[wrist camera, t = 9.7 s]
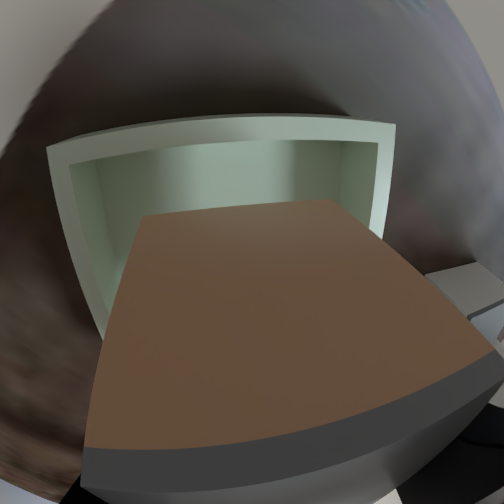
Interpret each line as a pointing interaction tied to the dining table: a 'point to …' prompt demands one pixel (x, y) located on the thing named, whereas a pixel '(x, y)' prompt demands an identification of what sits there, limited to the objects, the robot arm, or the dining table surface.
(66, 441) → the dining table surface
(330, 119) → the tray
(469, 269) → the grey forked piece
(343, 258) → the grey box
